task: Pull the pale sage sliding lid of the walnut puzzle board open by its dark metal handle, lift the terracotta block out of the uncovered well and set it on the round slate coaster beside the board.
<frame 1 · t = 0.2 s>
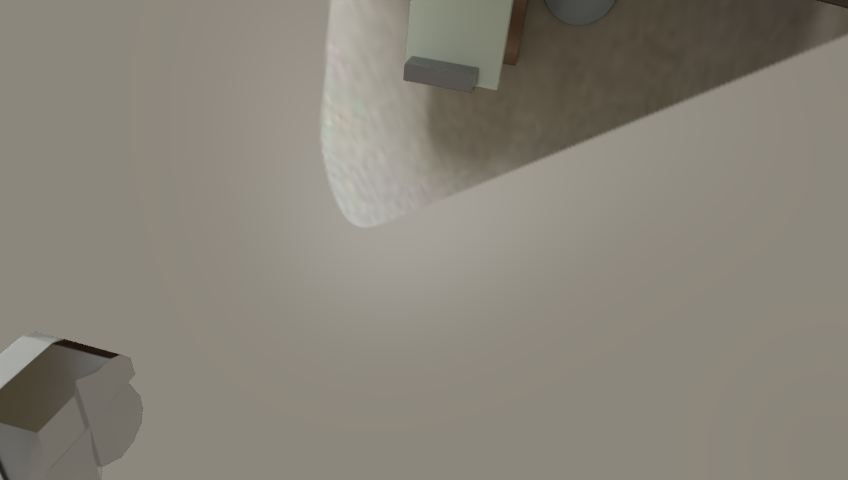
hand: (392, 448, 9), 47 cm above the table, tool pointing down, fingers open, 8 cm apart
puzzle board: (476, 3, 52), on the table
sliding lid: (457, 12, 45), point 8 cm above the table, slide at 0.0 cm
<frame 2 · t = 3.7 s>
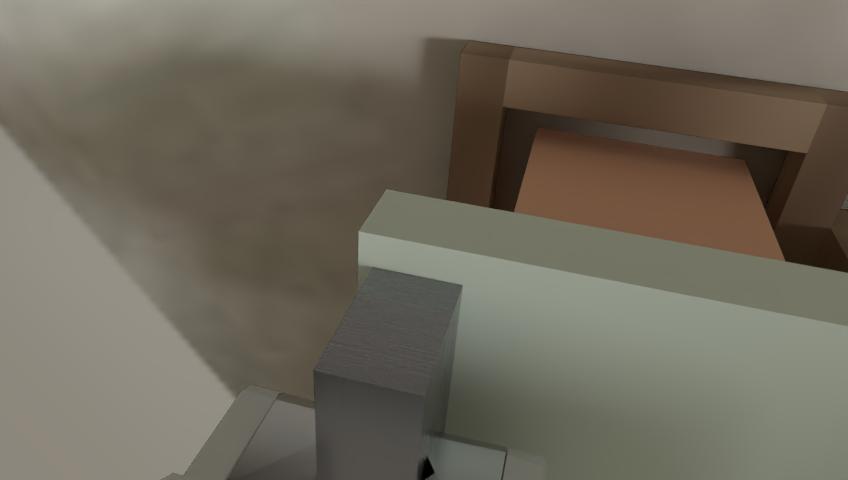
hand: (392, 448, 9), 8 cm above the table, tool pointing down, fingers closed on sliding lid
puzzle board: (615, 230, 16), on the table
terracotta block: (615, 228, 16), resting in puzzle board
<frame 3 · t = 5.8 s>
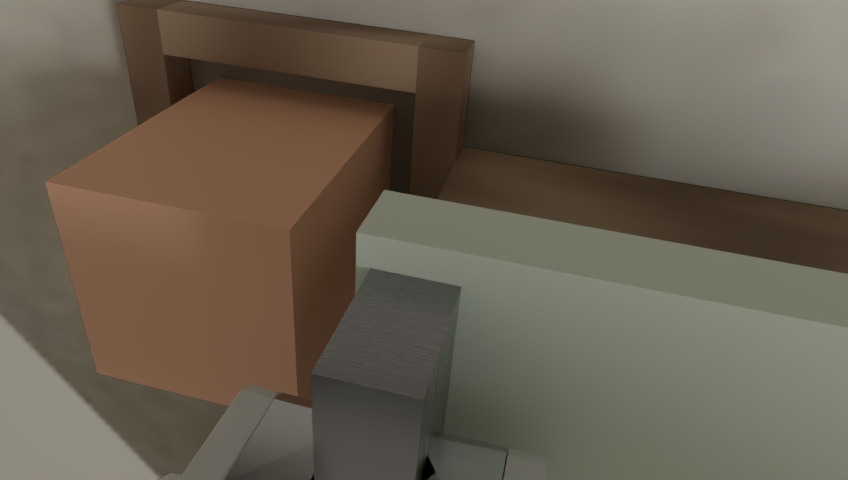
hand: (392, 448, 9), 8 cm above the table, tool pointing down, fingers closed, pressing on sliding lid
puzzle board: (306, 174, 17), on the table
terracotta block: (307, 173, 17), resting in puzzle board
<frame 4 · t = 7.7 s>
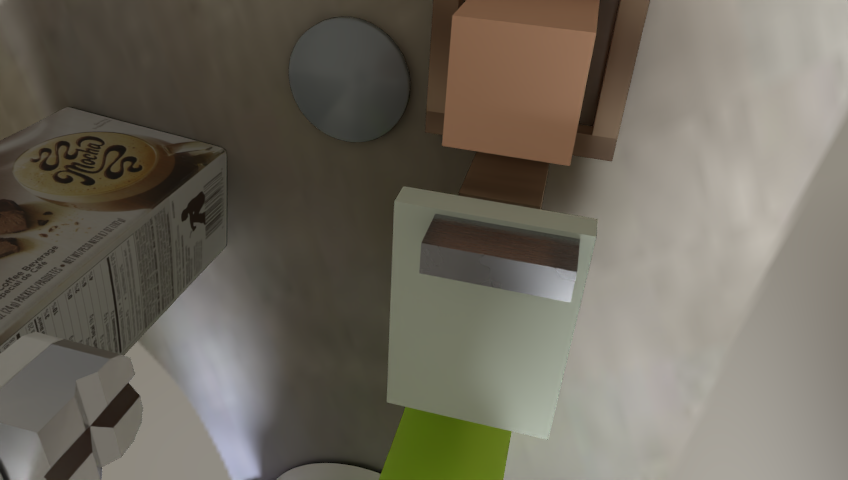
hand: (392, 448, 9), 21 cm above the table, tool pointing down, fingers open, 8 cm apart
soap dispenser: (463, 396, 38), on the table
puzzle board: (532, 46, 26), on the table
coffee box: (154, 177, 35), on the table
terracotta block: (532, 45, 26), resting in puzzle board
sliding lid: (475, 337, 25), point 8 cm above the table, slide at 7.9 cm
slate coaster: (350, 80, 29), on the table
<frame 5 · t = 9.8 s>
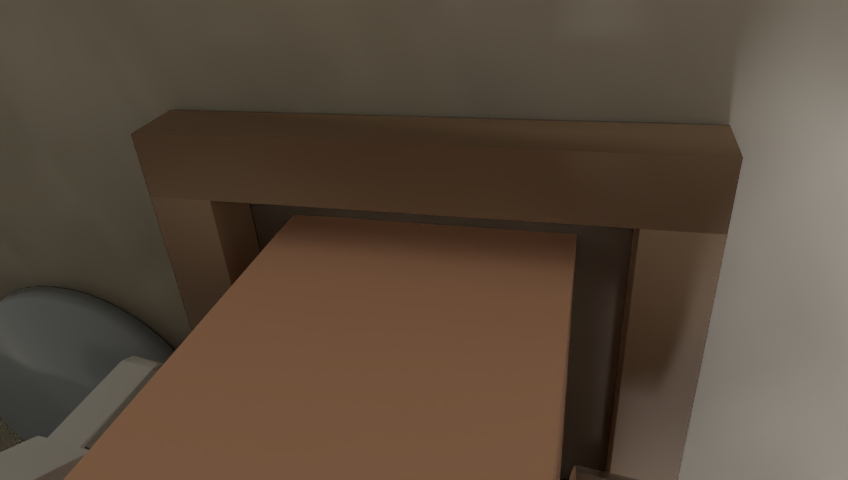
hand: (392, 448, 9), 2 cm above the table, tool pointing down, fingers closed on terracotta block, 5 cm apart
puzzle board: (435, 340, 11), on the table
terracotta block: (435, 337, 11), resting in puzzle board, touching gripper
slate coaster: (99, 389, 14), on the table
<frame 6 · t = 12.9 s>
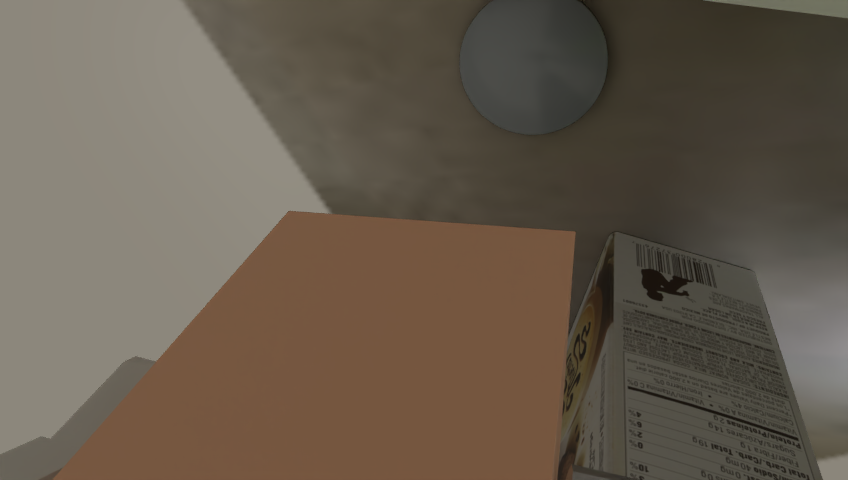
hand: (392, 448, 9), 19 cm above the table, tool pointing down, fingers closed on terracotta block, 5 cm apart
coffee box: (645, 324, 30), on the table
terracotta block: (431, 336, 11), point 17 cm above the table, touching gripper
slate coaster: (532, 62, 25), on the table
when the fingers open (4 cm above the table, at t = 16.0 s): terracotta block drops 2 cm, resting on slate coaster.
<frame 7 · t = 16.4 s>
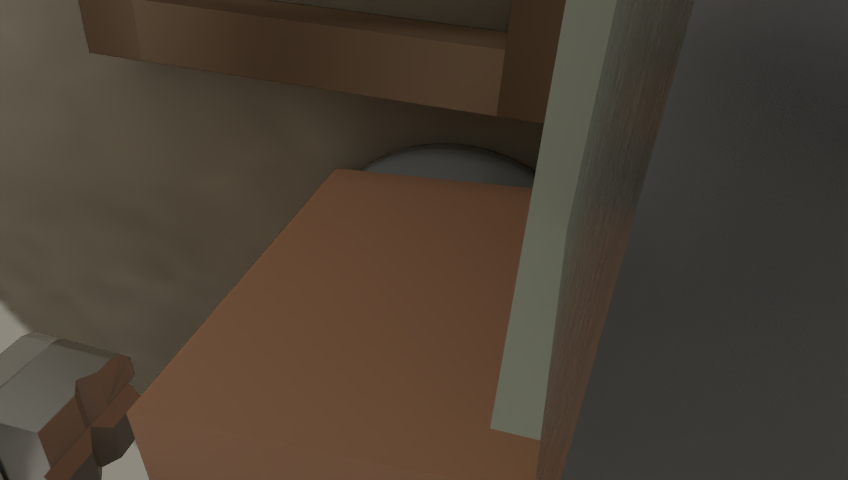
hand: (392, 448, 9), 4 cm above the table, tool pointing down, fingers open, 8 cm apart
terracotta block: (457, 287, 12), resting on slate coaster
slate coaster: (454, 274, 13), on the table
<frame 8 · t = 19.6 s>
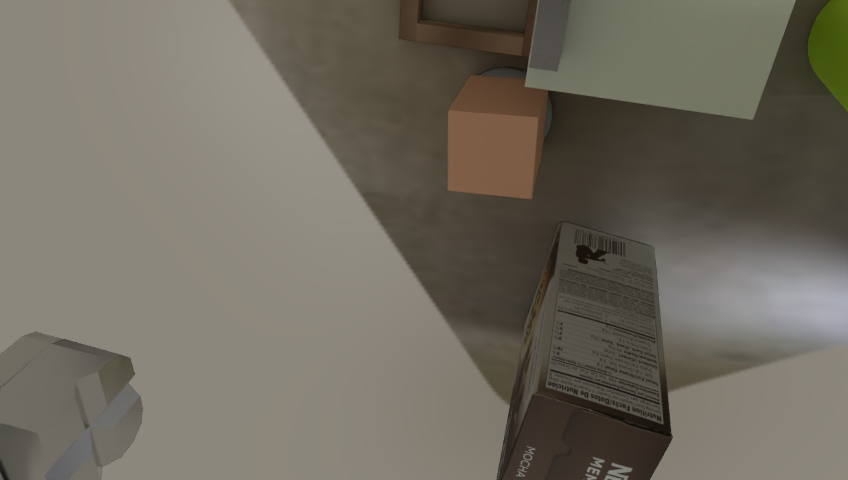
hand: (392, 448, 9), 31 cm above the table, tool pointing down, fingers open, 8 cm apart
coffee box: (586, 285, 44), on the table
terracotta block: (507, 114, 38), resting on slate coaster
sliding lid: (655, 25, 27), point 8 cm above the table, slide at 7.9 cm
slate coaster: (505, 112, 39), on the table
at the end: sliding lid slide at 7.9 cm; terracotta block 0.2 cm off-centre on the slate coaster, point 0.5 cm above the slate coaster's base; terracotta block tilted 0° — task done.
